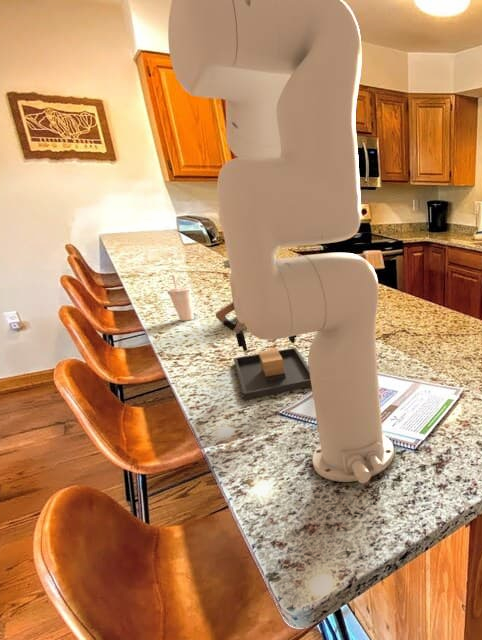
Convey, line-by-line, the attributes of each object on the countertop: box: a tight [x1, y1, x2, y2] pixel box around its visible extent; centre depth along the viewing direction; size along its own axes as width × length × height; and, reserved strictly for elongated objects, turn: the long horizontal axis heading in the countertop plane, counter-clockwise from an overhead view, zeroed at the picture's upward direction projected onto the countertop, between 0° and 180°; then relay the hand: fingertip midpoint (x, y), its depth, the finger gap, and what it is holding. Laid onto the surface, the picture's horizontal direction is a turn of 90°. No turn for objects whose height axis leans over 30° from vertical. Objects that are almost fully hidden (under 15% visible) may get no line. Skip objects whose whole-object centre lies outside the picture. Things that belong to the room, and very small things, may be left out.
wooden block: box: [257, 348, 286, 382], centre depth 95 cm, size 7×4×4 cm, turn 30°
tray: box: [233, 347, 312, 402], centre depth 95 cm, size 21×14×2 cm
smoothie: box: [166, 274, 195, 322], centre depth 133 cm, size 6×6×14 cm
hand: (269, 345), depth 92 cm, fingers open, 9 cm apart
